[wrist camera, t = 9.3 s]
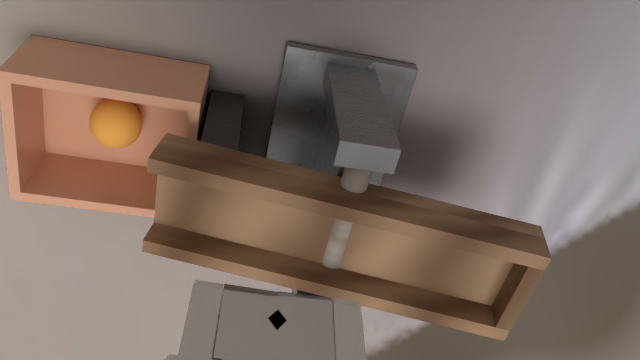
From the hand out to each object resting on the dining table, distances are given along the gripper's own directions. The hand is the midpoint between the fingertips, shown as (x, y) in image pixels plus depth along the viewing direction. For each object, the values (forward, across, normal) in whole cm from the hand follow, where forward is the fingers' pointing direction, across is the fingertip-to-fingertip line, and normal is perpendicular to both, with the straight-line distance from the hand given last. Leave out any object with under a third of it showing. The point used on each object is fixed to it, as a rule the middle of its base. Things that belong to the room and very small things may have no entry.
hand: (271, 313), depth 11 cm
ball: (+23, +9, +11) cm, 27 cm away
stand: (+26, -2, +12) cm, 28 cm away
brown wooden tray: (+17, -5, +12) cm, 21 cm away
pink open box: (+25, +9, +12) cm, 29 cm away
